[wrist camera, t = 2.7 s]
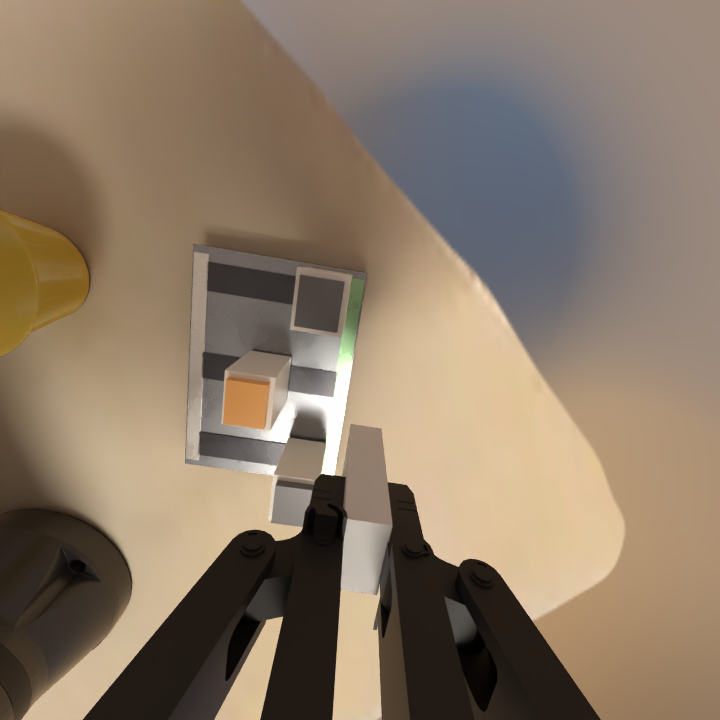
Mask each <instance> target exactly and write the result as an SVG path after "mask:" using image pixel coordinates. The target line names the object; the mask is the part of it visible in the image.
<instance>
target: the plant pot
mask: <svg viewBox="0 0 720 720" xmlns="http://www.w3.org/2000/svg"><path fill="white" fill-rule="evenodd" d="M88 290H89V273H88V269H87V266H86V263H85V261H84V259H83V257H82V255H81V254H80V252H79V251H78V249H77V248H76V247H75V246H74V245H73V243H72V242H71V241H69V240H68V239H67V238H66V237H65V236H63V235H62V234H60V233H59V232H57V231H55V230H53V229H51V228H48V227H46V226H43V225H41V224H38V223H35V222H33V221H30V220H27V219H24V218H22V217H19V216H16V215H14V214H11V213H8V212H6V211H3V210H0V356H2V355H4V354H6V353H8V352H10V351H12V350H13V349H14V348H16V347H17V346H18V345H20V344H21V343H22V342H23V341H24V340H25V338H26V337H27V336H28V334H29V333H30V332H32V331H34V330H36V329H38V328H41V327H43V326H45V325H47V324H49V323H51V322H53V321H55V320H57V319H59V318H62V317H64V316H66V315H68V314H71V313H72V312H74V311H76V310H77V309H78V308H79V307H80V306H81V305H82V304H83V302H84V301H85V299H86V297H87V294H88Z"/></svg>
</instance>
